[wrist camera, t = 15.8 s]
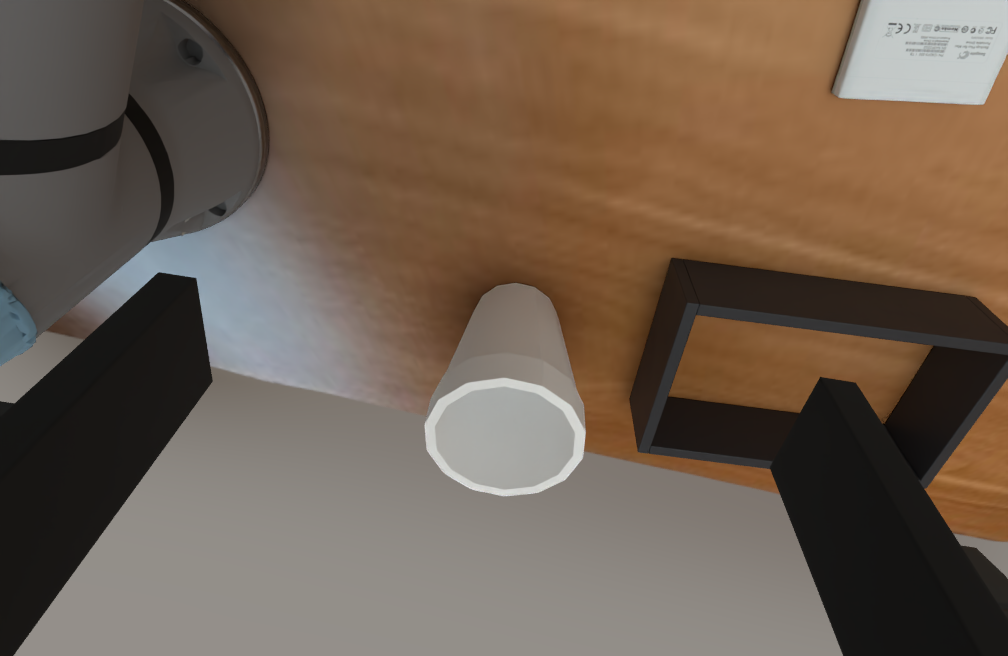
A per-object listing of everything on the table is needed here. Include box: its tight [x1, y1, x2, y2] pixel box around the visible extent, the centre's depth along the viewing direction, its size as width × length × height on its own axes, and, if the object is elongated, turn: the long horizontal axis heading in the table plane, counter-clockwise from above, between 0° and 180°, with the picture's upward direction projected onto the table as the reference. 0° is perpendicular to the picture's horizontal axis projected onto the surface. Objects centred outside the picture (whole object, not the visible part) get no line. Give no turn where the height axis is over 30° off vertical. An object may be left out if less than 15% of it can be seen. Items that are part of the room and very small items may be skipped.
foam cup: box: [424, 283, 586, 496], centre depth 41 cm, size 10×9×13 cm
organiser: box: [630, 258, 1008, 488], centre depth 44 cm, size 22×13×6 cm, turn 84°
